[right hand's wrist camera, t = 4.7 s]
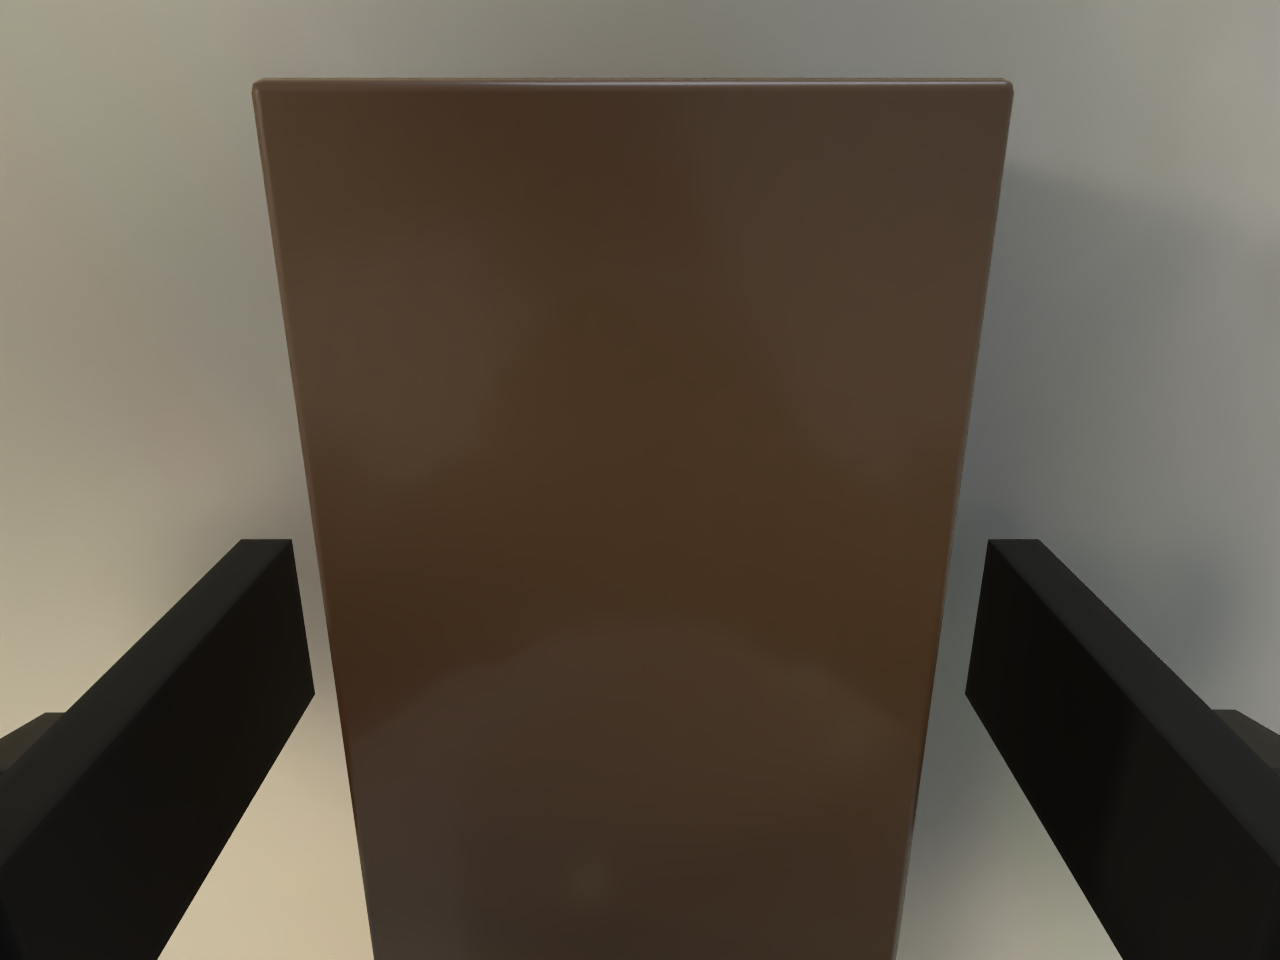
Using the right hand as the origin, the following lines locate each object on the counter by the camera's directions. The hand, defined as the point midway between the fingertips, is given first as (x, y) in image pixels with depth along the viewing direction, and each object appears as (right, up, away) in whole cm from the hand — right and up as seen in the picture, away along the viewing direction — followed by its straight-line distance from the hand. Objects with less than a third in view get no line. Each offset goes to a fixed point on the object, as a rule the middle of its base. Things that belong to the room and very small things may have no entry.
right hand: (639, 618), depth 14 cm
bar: (0, -27, +12) cm, 30 cm away
